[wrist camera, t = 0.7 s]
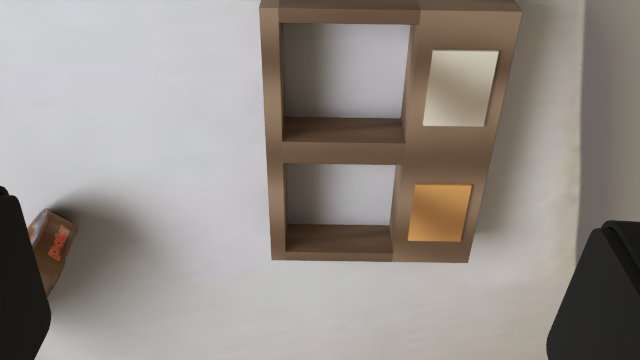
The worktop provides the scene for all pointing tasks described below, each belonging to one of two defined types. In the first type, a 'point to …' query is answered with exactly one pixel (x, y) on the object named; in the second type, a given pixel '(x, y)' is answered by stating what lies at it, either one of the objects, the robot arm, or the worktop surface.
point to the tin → (51, 245)
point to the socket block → (397, 128)
